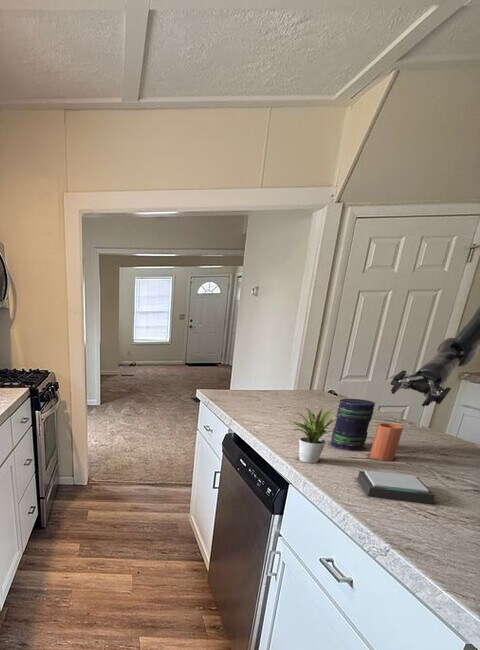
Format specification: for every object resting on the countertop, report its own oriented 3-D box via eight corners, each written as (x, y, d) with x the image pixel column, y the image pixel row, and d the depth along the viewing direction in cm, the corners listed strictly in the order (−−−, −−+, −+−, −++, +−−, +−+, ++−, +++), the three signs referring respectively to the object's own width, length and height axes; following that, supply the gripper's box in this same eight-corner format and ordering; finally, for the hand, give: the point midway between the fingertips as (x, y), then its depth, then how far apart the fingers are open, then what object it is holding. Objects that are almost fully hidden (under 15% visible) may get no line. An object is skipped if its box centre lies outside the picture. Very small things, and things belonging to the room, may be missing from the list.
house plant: (298, 448, 132) (308, 399, 126) (342, 459, 122) (355, 406, 115) (274, 457, 124) (284, 405, 118) (320, 470, 114) (333, 413, 107)
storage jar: (351, 441, 139) (361, 398, 133) (371, 450, 130) (383, 404, 124) (323, 442, 138) (332, 399, 132) (341, 451, 129) (352, 405, 123)
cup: (390, 455, 125) (399, 424, 121) (396, 461, 120) (406, 429, 116) (367, 453, 127) (375, 422, 123) (372, 459, 122) (381, 427, 118)
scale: (415, 484, 104) (418, 474, 102) (432, 504, 93) (436, 493, 92) (357, 478, 108) (359, 468, 107) (367, 496, 97) (370, 485, 96)
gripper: (415, 354, 126) (390, 377, 120) (466, 372, 118) (442, 397, 112) (403, 374, 132) (378, 397, 126) (451, 393, 124) (427, 418, 118)
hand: (408, 397), depth 119 cm, fingers open, 8 cm apart
